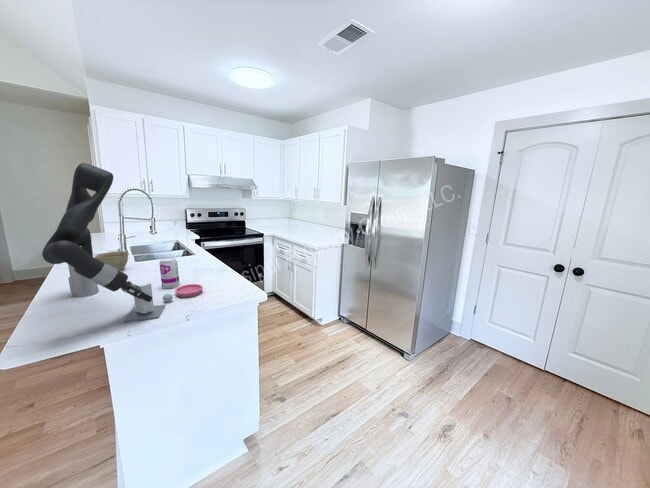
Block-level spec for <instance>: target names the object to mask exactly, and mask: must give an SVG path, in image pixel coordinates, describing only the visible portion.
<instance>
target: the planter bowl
mask: <svg viewBox="0 0 650 488" xmlns="http://www.w3.org/2000/svg"><path fill="white" fill-rule="evenodd" d="M94 258H96V259H98V260H100V261H101V262H103V263H105V264H107V265H110V266H112V267H114V268H116V269H118V270H119V271H121V272H123V271H124V269H125V267H126V266H127V263H128V259H129V252H127V251H110V252H105V253H100V254H97V255H94Z"/></svg>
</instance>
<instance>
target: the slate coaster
mask: <svg viewBox="0 0 650 488" xmlns="http://www.w3.org/2000/svg"><path fill="white" fill-rule="evenodd" d="M165 308H166V304H160V305H159V304H157V305H154V310H153V311H150V312H148V313H145V314H143V313H140V312H137V311H136V310H135V307H133V308H132V309H131V311H130V312H129V313H128V315H127V316H126V317H124V320H123V323H130V322H131V323H132V322H140V321H147V320H149V321H150V320H156V319H159V318H160V317H161V315H162V313H163V312H164V310H165Z"/></svg>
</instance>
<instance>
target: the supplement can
mask: <svg viewBox="0 0 650 488" xmlns="http://www.w3.org/2000/svg"><path fill="white" fill-rule="evenodd" d="M159 271H160V282H161V287H162V288H164V289H174V288H175V289H176V288H178V287H179V286H180V276H179V267H178V261H177V259H176V257H166V258H162V259H160V261H159Z"/></svg>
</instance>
